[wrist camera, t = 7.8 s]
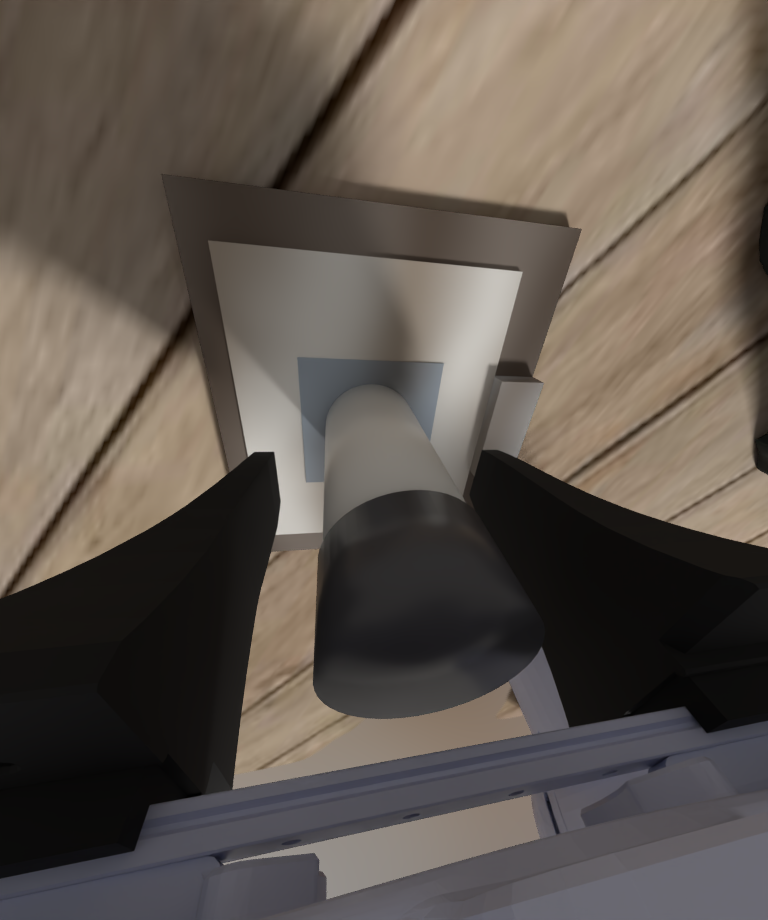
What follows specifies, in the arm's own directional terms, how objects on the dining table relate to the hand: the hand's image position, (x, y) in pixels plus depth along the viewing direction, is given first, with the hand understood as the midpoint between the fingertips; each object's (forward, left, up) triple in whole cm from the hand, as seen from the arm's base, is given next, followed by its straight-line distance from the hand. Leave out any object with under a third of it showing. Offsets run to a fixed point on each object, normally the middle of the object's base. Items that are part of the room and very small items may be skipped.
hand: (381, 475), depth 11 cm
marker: (0, 0, -4) cm, 4 cm away
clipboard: (0, 0, -5) cm, 5 cm away
